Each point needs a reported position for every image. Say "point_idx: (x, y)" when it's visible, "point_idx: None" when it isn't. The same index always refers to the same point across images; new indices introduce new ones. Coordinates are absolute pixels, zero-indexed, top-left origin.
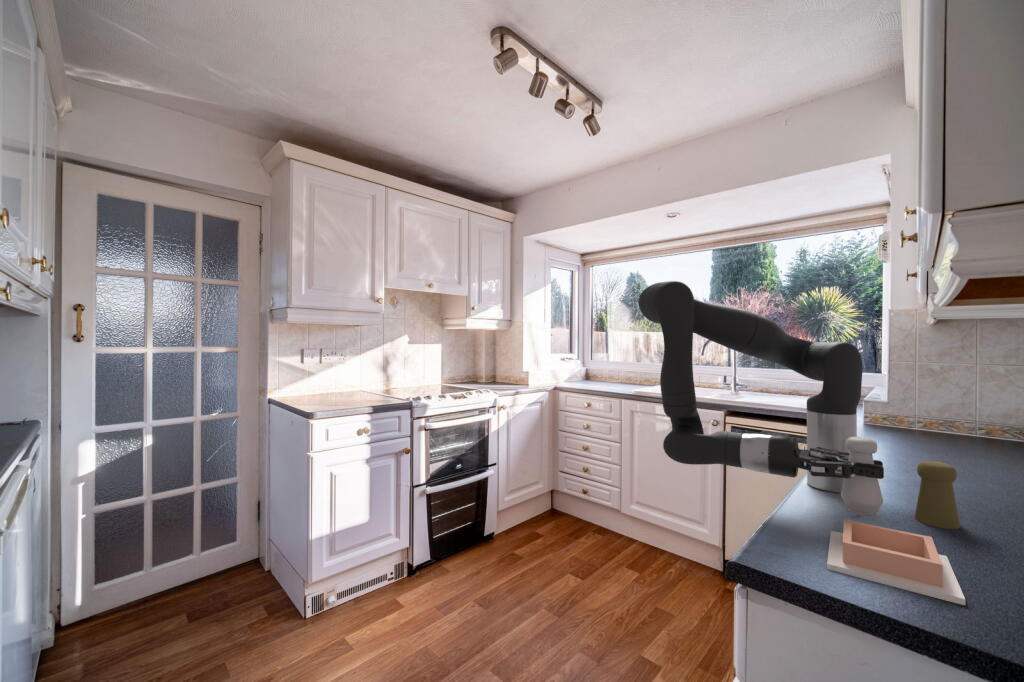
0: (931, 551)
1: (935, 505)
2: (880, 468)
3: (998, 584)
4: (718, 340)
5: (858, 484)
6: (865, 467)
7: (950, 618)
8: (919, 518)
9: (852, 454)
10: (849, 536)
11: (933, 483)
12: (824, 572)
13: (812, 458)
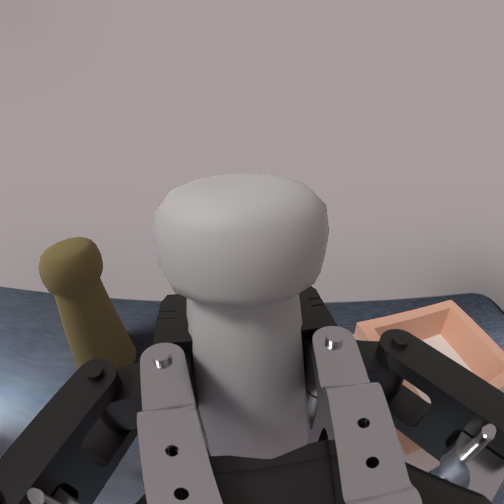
0: (423, 312)
1: (116, 328)
2: None
3: (346, 310)
4: None
5: None
6: (326, 310)
7: (476, 318)
8: None
9: (280, 313)
10: (497, 379)
11: (96, 289)
12: None
13: (462, 498)
